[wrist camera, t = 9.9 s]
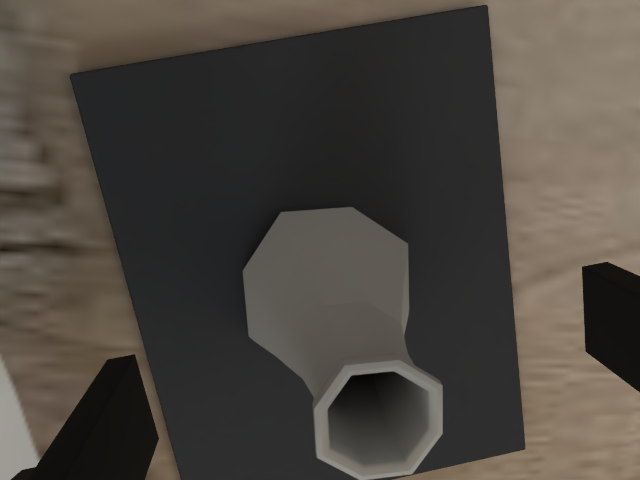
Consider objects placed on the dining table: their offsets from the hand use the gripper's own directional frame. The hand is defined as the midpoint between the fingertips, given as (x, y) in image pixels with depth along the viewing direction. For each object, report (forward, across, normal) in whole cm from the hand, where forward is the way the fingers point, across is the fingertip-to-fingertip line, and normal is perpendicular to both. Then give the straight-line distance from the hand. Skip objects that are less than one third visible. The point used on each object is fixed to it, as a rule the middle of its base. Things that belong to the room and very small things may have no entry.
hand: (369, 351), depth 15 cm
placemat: (+8, 0, 0) cm, 8 cm away
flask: (+7, -1, 0) cm, 7 cm away
